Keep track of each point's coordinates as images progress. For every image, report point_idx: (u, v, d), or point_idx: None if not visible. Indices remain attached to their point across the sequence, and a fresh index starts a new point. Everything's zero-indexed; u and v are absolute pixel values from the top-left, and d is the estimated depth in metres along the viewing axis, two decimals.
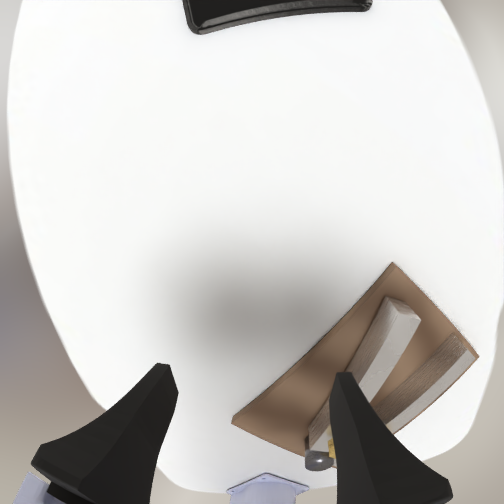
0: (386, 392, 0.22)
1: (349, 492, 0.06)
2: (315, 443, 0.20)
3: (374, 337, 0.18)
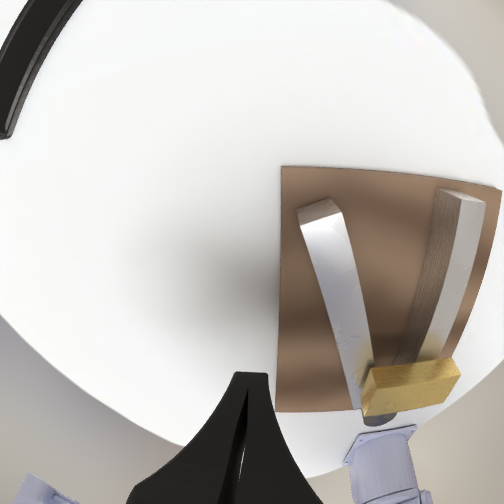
0: (407, 303, 0.17)
1: None
2: (352, 402, 0.17)
3: None
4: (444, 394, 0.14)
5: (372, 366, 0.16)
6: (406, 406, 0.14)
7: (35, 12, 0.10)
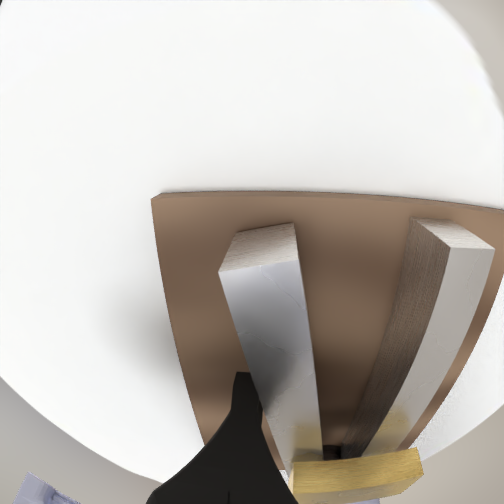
0: (362, 377, 0.12)
1: None
2: None
3: None
4: (400, 489, 0.09)
5: (319, 454, 0.10)
6: (345, 501, 0.09)
7: None
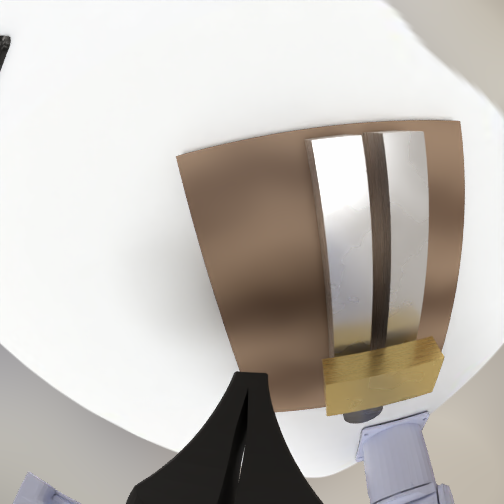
0: None
1: None
2: None
3: (317, 201, 0.12)
4: (429, 383, 0.12)
5: (367, 344, 0.14)
6: (379, 401, 0.12)
7: None
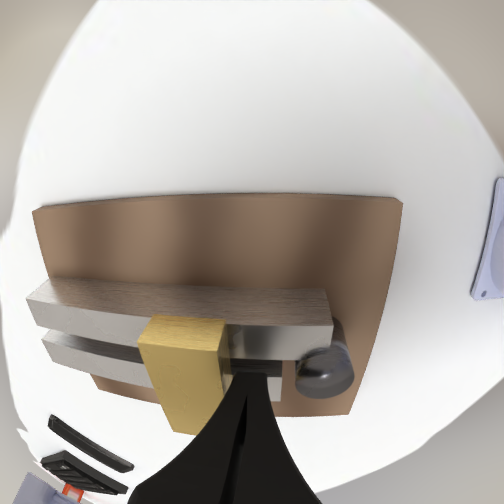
0: None
1: None
2: None
3: None
4: (189, 358, 0.09)
5: None
6: (213, 407, 0.10)
7: (67, 436, 0.30)
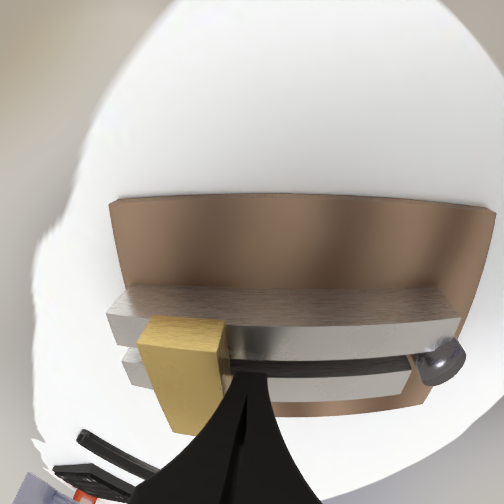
0: None
1: None
2: (382, 395, 0.12)
3: None
4: (188, 359, 0.09)
5: (325, 379, 0.12)
6: (213, 408, 0.10)
7: (99, 451, 0.29)
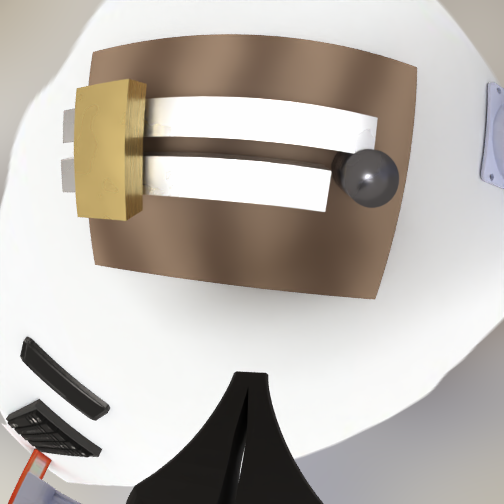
0: (204, 142, 0.15)
1: None
2: (302, 207, 0.13)
3: None
4: (108, 91, 0.09)
5: (231, 162, 0.13)
6: (114, 156, 0.11)
7: (40, 369, 0.29)
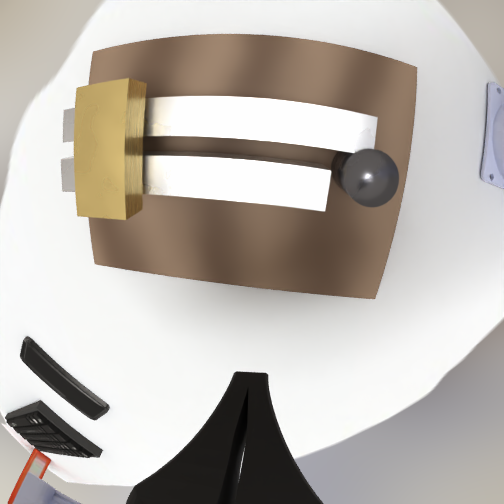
0: (204, 142, 0.15)
1: None
2: (302, 207, 0.13)
3: None
4: (108, 91, 0.09)
5: (231, 161, 0.13)
6: (114, 155, 0.11)
7: (39, 368, 0.28)
